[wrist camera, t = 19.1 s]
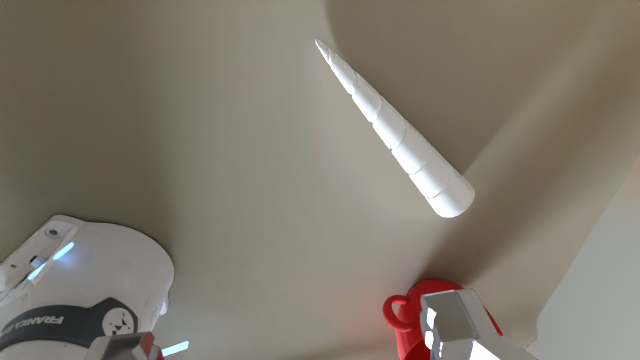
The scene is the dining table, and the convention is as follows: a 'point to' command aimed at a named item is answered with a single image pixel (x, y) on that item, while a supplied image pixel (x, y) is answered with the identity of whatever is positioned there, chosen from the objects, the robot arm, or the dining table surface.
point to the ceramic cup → (416, 318)
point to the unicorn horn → (406, 143)
